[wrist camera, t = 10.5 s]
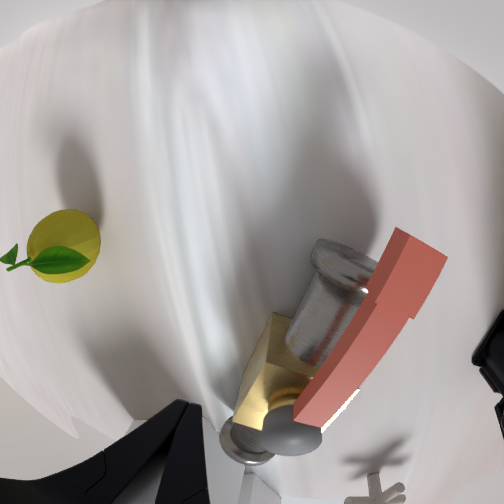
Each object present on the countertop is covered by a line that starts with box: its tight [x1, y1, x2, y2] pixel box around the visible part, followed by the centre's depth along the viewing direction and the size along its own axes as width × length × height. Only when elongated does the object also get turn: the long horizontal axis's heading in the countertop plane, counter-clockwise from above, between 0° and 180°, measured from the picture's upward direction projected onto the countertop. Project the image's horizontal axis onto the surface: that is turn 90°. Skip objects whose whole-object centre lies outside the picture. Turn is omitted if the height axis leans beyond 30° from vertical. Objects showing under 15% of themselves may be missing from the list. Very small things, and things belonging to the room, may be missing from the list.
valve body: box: [219, 239, 378, 466], centre depth 18 cm, size 20×6×7 cm, turn 160°
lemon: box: [0, 209, 101, 283], centre depth 16 cm, size 7×6×10 cm
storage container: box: [125, 416, 282, 504], centre depth 24 cm, size 25×11×11 cm, turn 24°
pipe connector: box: [344, 473, 406, 504], centre depth 22 cm, size 10×10×10 cm
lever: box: [260, 227, 448, 456], centre depth 12 cm, size 15×4×2 cm, turn 158°
